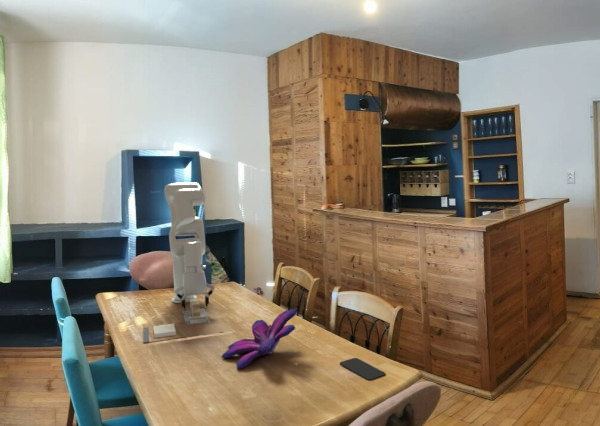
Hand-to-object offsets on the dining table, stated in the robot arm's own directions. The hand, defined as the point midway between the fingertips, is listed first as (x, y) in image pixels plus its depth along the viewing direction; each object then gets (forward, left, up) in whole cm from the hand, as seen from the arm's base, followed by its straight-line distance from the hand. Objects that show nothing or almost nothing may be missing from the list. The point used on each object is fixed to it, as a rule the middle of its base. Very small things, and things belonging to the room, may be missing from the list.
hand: (195, 306), depth 199 cm
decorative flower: (+53, +16, -5) cm, 55 cm away
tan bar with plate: (+1, 0, -4) cm, 4 cm away
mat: (+15, -14, -5) cm, 21 cm away
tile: (+17, -14, -4) cm, 22 cm away
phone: (+77, +43, -6) cm, 88 cm away
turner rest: (+1, 0, -5) cm, 5 cm away
